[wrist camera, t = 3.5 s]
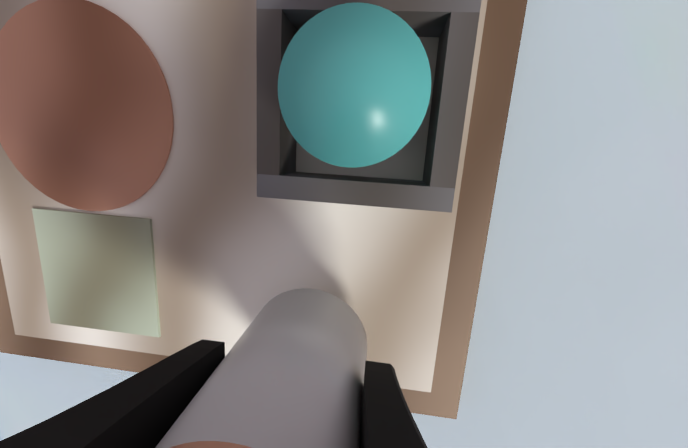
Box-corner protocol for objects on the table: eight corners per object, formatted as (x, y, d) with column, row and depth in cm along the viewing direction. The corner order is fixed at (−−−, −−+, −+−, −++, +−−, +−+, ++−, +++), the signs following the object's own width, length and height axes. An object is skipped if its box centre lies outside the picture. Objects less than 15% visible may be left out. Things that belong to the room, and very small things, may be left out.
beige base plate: (17, 343, 14) (-56, 381, 11) (-58, -40, 10) (-179, -92, 8) (452, 405, 12) (469, 465, 9) (526, -40, 8) (576, -107, 6)
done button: (300, 160, 9) (276, 162, 7) (304, 38, 8) (278, 1, 6) (412, 167, 8) (421, 172, 6) (426, 41, 8) (441, 3, 6)
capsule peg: (254, 384, 11) (22, 807, 4) (252, 282, 10) (-48, 586, 3) (363, 398, 10) (325, 897, 3) (371, 294, 9) (340, 674, 3)
